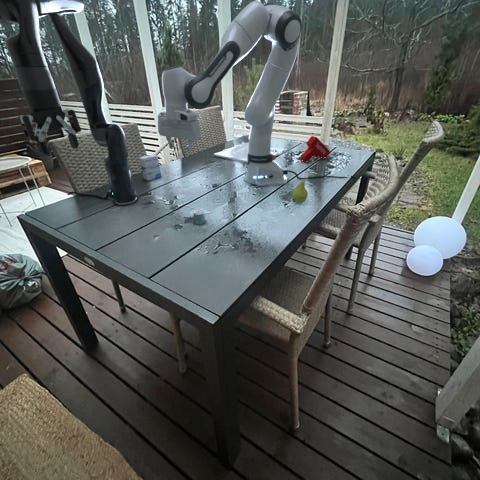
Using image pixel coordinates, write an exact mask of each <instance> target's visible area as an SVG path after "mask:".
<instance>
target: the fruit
mask: <svg viewBox="0 0 480 480" xmlns="http://www.w3.org/2000/svg"><path fill="white" fill-rule="evenodd" d="M309 177H311V175H310V174H309V175H308V176H307V177H305V178H306V179H301V181H300V182H298V184H297V185H296V186H295V187H294V188H293V190H292V191H291V198H292V200H293V201H294V202H295V203H297V204H301V203H304V202H305V201H306V200H307V198H308V196H309V195H308V190H307V189H306V184H305V183H306V180H308V179H307V178H309Z"/></svg>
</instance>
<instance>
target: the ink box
mask: <svg viewBox="0 0 480 480" xmlns="http://www.w3.org/2000/svg"><path fill="white" fill-rule="evenodd" d="M138 158H139V162H140V168H141V173H142V178H143V180H145V181H148V182H149V181H152V180H153V181H154V180H156V179H159V178H162V173H161V167H160V160H159V156H158V155H156V154H149V155H145V156H144V155H143V156H139V157H138Z"/></svg>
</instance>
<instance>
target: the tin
mask: <svg viewBox="0 0 480 480" xmlns="http://www.w3.org/2000/svg"><path fill="white" fill-rule="evenodd" d="M193 222H194V224H195V225H203V224H205V223H206V217H205V211H204V210H201V209H197V210H194V211H193Z"/></svg>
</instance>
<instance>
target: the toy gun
mask: <svg viewBox="0 0 480 480" xmlns="http://www.w3.org/2000/svg"><path fill="white" fill-rule="evenodd" d="M306 146H307V148H306V149H305V151H304V152H303V153H301V154H300V160H301V161H302V160H303V161H302V162H305V163H307V164H308V163H309V161H310V160H311V158H313V157H314V158H319V159H322V160H327V158H328V157H329V156H330V154H331V153H332V152H331V151H330V150H329V148H328V147H326V145H325V144H324V143H323V142H322V141H321V140H320V139H319V138H318V137H317V136H315V135H314V136H313V135H311V136H310V137H309V139H308V140H307V141H306ZM321 157H322V158H321ZM323 157H327V158H324V159H323ZM306 161H308V162H306Z"/></svg>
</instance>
